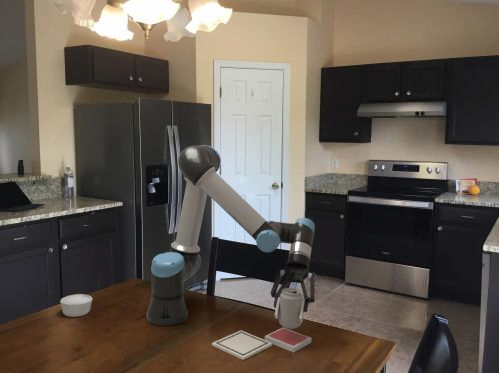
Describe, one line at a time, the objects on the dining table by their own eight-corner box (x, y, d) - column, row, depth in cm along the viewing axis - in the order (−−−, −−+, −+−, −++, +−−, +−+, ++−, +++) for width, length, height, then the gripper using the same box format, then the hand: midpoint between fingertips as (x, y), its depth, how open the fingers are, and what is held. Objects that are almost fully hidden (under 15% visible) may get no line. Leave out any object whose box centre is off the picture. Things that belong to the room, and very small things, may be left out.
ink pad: (264, 340, 154) (264, 335, 154) (282, 331, 162) (283, 326, 162) (293, 352, 147) (293, 346, 146) (311, 342, 154) (311, 337, 154)
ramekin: (98, 311, 176) (98, 298, 175) (73, 320, 166) (73, 306, 166) (79, 304, 182) (79, 292, 181) (54, 313, 172) (54, 300, 172)
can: (300, 330, 149) (301, 295, 148) (277, 328, 151) (278, 293, 149) (302, 321, 156) (303, 287, 155) (280, 319, 158) (281, 285, 157)
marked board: (211, 345, 150) (211, 342, 150) (240, 332, 160) (240, 330, 160) (243, 360, 141) (243, 357, 141) (272, 345, 151) (272, 342, 151)
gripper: (328, 266, 163) (320, 327, 150) (273, 260, 169) (260, 319, 155) (327, 255, 158) (318, 318, 144) (269, 249, 163) (256, 309, 150)
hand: (288, 318), depth 150 cm, fingers closed on can, 7 cm apart
